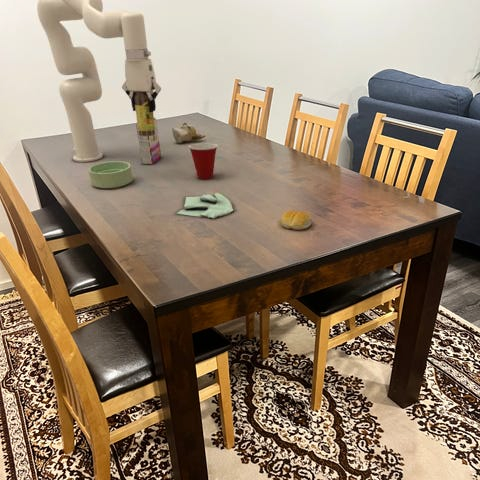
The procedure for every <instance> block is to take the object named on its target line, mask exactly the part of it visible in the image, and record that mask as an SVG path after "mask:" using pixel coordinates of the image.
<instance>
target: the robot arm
mask: <svg viewBox="0 0 480 480" xmlns="http://www.w3.org/2000/svg"><path fill="white" fill-rule="evenodd" d="M103 4H104V3H103V0H38V1H37V4H36V6H37V7H36V11H37V12H36V13H37V17H38V20H39V22H40V25H41V26H42V29H43V31H44V32H45V35H46V37H47V40H48V43H49V48H50V51H51V55H52V58H53V61H54V64H55V67H56V70H57V71H58V73H59V74H60V75H62V76H73V75H79V74H81V75H82V77H81V76H80V77H74V78H68V79H65V80H63V81H62V82H61V83H60V84H59V87H58V92H59V96H60V98H61V101H62V103H63V106H64V109H65V112H66V116H67V120H68V124H69V125H68V126H69V128H70V133H71V137H72V138H71V139H72V141H73V146H74V147H73V148H72V151H73V152H75V155H73V157H72V158H73V161H75V162H79V163H87V162H94V161H98V160H101V159H103V153H102V152H100V151H99V149H98V143H97V139H96V133H95V129H94V123H93V119H92V114H91V112H90V110H89V109H88V108H87V107H86V106H85V104H86V103H91V102H96V101H99V100H100V99H101V98H102V95H103V88H102V83H101V79H100V75H99V71H98V67H97V64H96V60H95V57H94V55H93V53H92V52H91V50H89V48H88V47H86V46H74V44H73V40H72V38H71V34H70V32H69V30H68V29H67V28H66V27H65V26H64V25H63V24H62V23H61V22H69V21H70V22H71V21H79V20H80V21H81V20H83V22H84V25H85V26H86V28H87V29H88V31H90V32H91V33H93V34H94V35H96V36H97V37H99V38H101V39H105V40H106V39H107V40H108V39H114V38H115V39H116V38H123V43H124V51H125V58H126V59H125V61H124V74H125V75H124V77H125V81H124V82H123V84H122V86H121V89H122V90H123V91H124V92H125V94H126V95H127V96H128V98H129V99H130V103H131V108H132V111H133V112H136V109H135V94H136V92H137V91H140V92H146V93H147V95H148V97H149V99H150V100H148V104H149V111H150V112H153V113H154V112H156V107H157V106H156V99H157V97H158V95H159V94H160V92H161V91H162V87H161V86H160V85H159V83H157V79H156V73H155V68H154V65H153V62H152V59H151V58H150V56H151V55H152V52H151V51H149V49H148V42H147V41H148V40H147V33H146V26H145V25H146V24H145V18H144V15H143V13H142V12H139V11H131V12H130V11H127V10H119V11H117V10H116V11H103V10H104V5H103Z"/></svg>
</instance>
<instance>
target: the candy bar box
mask: <svg viewBox="0 0 480 480" xmlns="http://www.w3.org/2000/svg"><path fill="white" fill-rule="evenodd" d="M154 125H155V134H154V135H152V136H140V135H139V130H138V125H137V122H136V123H135V128H136V133H137V138H138V145H139V150H140V157H141V163H142V165H154V164H155V163H156V162H157V161H158V160H159V159H161V157H162V151H161V146H160V138H159V132H158V123H157V118H156V117H154Z"/></svg>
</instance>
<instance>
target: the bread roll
mask: <svg viewBox="0 0 480 480" xmlns="http://www.w3.org/2000/svg"><path fill="white" fill-rule="evenodd" d="M312 222H313V219H312V217H311V215H310V214H308V213H307V212H305V211H299V212H298V211H296V210H288V211H286V212H284V213H283V214H282V215H281V218H280V223H281V226H283V227H284V228H286V229H292V230H295V231H300V230H301V231H302V230H305V229H308V228H309V227H310V226H311V225H312Z"/></svg>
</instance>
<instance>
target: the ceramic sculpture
mask: <svg viewBox="0 0 480 480" xmlns="http://www.w3.org/2000/svg"><path fill="white" fill-rule="evenodd" d="M171 130H172V131H171V132H172V137H173V139H174V141H175V143H177V144H182V143H183V142H185V143H186V142H193V141H199V140H203V139H204V138H205V137H206V135H202V134H200V133H197V130H196V128H195V127H194V126H193V125H190V124H187V123H186V122H184V123H182V124H181V125H180V127H179V128H175V127H172V128H171Z"/></svg>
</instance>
